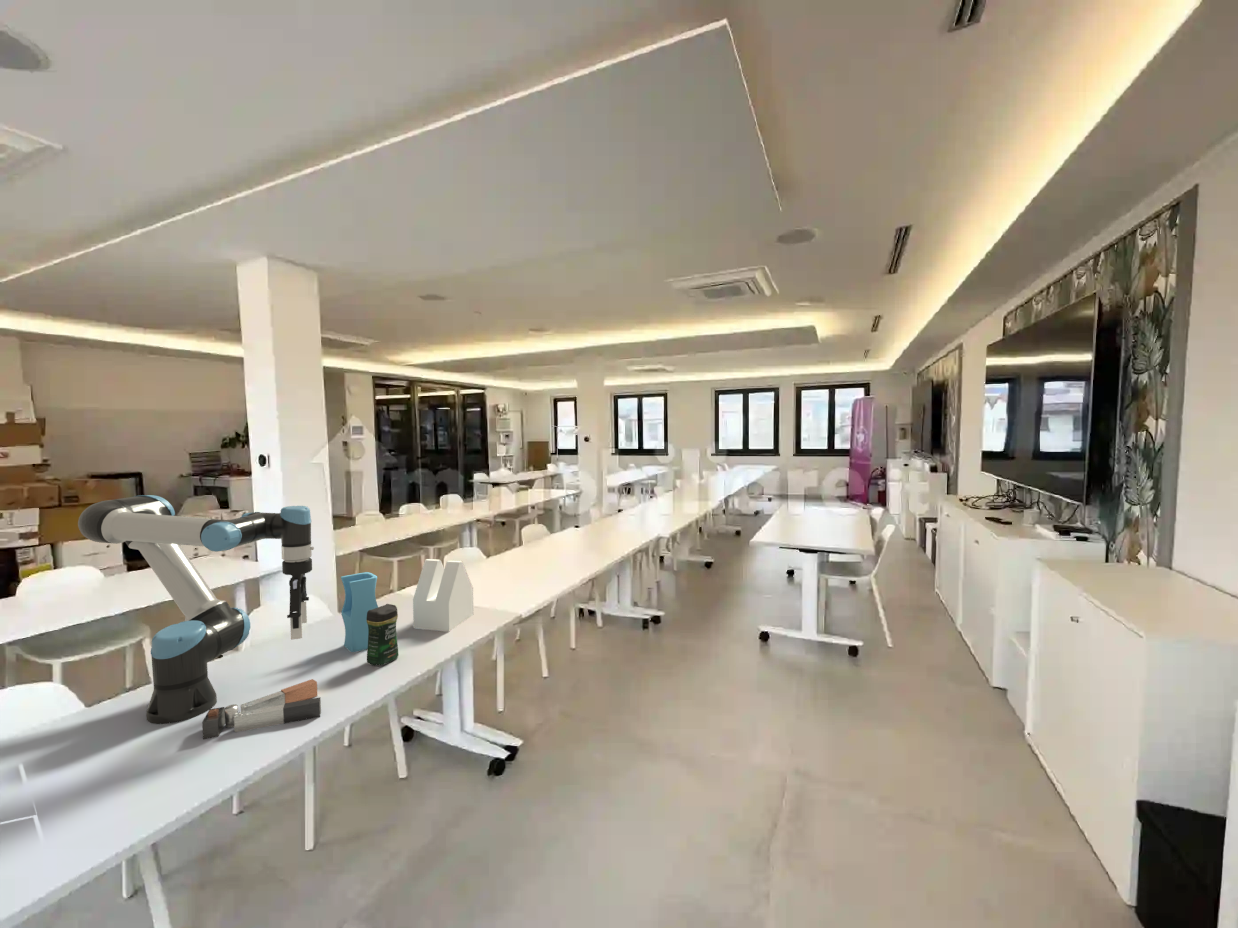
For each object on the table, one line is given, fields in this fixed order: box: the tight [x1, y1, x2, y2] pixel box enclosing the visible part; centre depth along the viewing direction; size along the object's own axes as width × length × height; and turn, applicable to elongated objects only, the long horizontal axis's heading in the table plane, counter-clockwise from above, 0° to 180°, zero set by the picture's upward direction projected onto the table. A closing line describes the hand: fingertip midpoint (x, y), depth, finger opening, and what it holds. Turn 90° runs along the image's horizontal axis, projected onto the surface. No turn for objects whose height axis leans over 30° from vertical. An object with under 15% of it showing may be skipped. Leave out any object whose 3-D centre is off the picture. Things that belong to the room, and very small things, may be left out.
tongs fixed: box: [201, 696, 322, 740], centre depth 144 cm, size 26×7×6 cm, turn 114°
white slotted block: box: [412, 558, 474, 633], centre depth 218 cm, size 19×15×25 cm
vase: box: [340, 571, 379, 653], centre depth 194 cm, size 10×10×25 cm
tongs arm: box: [224, 678, 318, 729], centre depth 150 cm, size 22×3×5 cm, turn 142°
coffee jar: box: [366, 603, 399, 666], centre depth 182 cm, size 10×8×19 cm
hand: (299, 630), depth 161 cm, fingers open, 12 cm apart
